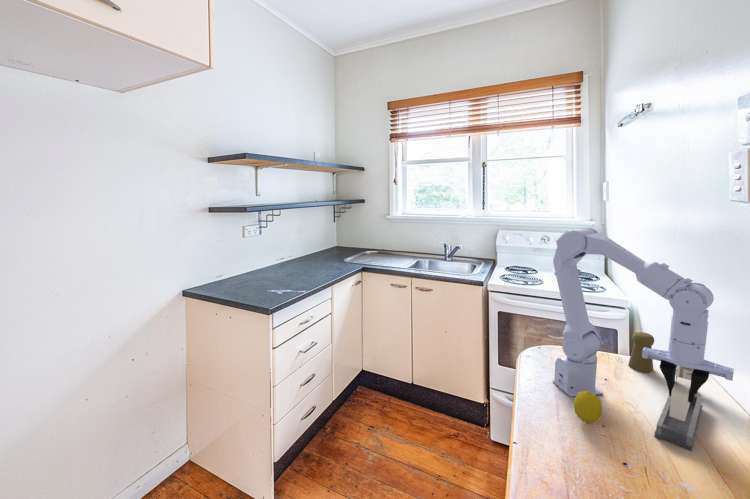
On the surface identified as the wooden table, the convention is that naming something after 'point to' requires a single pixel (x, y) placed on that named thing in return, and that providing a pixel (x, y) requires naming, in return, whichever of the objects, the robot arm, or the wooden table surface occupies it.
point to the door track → (679, 425)
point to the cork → (636, 355)
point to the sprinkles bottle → (683, 372)
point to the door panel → (680, 399)
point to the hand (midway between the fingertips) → (681, 397)
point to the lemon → (588, 407)
